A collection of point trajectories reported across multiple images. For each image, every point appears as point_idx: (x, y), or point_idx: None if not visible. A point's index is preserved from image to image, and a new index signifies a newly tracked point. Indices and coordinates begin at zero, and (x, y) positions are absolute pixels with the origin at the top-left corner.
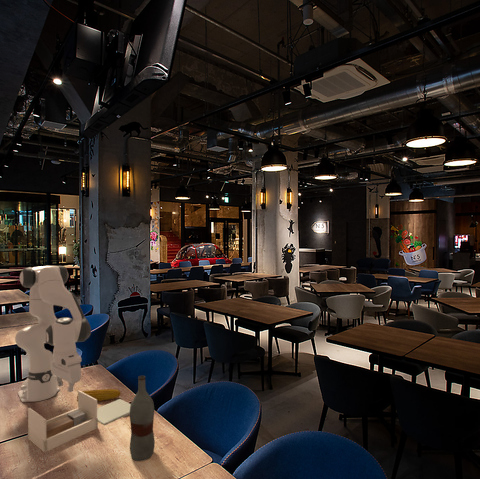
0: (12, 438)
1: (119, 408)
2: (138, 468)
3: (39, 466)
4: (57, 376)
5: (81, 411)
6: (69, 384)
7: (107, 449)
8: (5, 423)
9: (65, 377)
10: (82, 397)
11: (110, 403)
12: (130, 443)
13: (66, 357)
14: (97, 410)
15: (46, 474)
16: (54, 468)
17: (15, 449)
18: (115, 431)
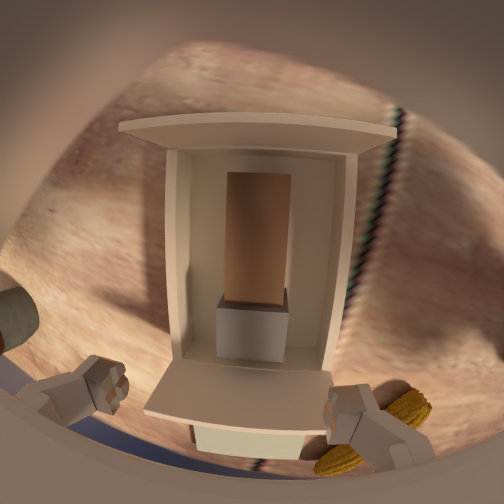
0: (399, 129)
1: (241, 435)
2: (3, 273)
3: (134, 115)
4: (338, 483)
5: (251, 359)
6: (32, 388)
7: (71, 284)
8: (498, 178)
9: (11, 442)
10: (289, 413)
11: (299, 439)
12: (2, 299)
13: None
14: None
15: (90, 121)
16: (94, 144)
17: (310, 97)
18: (134, 355)
